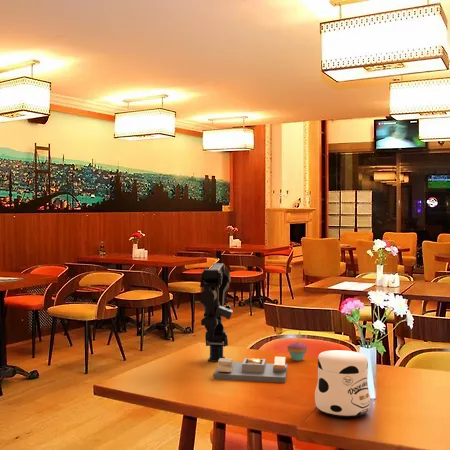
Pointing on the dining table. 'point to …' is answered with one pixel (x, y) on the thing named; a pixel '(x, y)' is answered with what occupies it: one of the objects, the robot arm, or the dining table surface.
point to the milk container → (342, 383)
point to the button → (254, 361)
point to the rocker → (280, 362)
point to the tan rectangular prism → (225, 365)
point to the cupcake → (297, 350)
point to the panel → (253, 372)
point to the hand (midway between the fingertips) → (211, 338)
